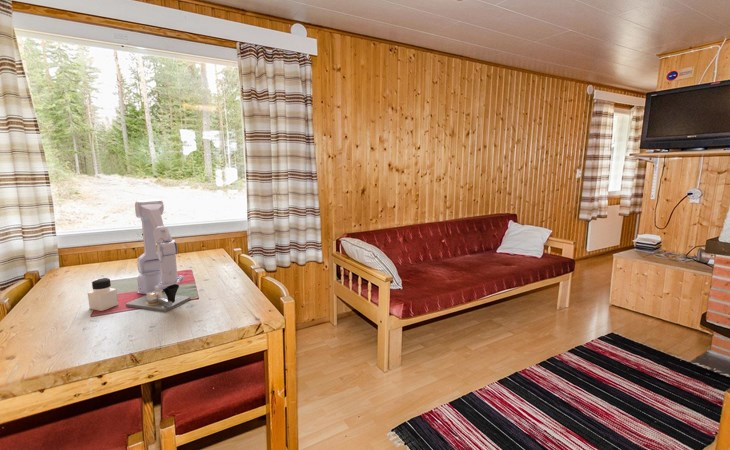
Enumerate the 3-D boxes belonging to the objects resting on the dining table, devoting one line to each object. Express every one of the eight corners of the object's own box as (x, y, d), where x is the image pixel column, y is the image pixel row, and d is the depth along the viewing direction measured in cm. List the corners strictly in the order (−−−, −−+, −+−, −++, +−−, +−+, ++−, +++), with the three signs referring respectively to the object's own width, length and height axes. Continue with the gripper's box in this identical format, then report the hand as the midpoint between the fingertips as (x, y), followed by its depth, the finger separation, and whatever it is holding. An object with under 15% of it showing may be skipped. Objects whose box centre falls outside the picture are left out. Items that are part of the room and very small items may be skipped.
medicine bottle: (118, 305, 150) (115, 277, 148) (101, 311, 144) (98, 283, 141) (106, 302, 152) (103, 275, 150) (89, 308, 146) (85, 280, 144)
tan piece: (144, 301, 150) (143, 293, 149) (157, 297, 155) (157, 289, 154) (163, 309, 143) (163, 300, 142) (177, 304, 147) (176, 296, 147)
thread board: (125, 306, 149) (125, 303, 149) (153, 294, 162) (153, 291, 162) (165, 312, 144) (165, 309, 144) (190, 299, 157) (190, 296, 157)
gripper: (164, 277, 137) (167, 310, 139) (189, 266, 151) (191, 296, 153) (148, 275, 138) (151, 308, 141) (174, 265, 152) (177, 295, 155)
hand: (171, 302), depth 147 cm, fingers closed, pressing on tan piece
